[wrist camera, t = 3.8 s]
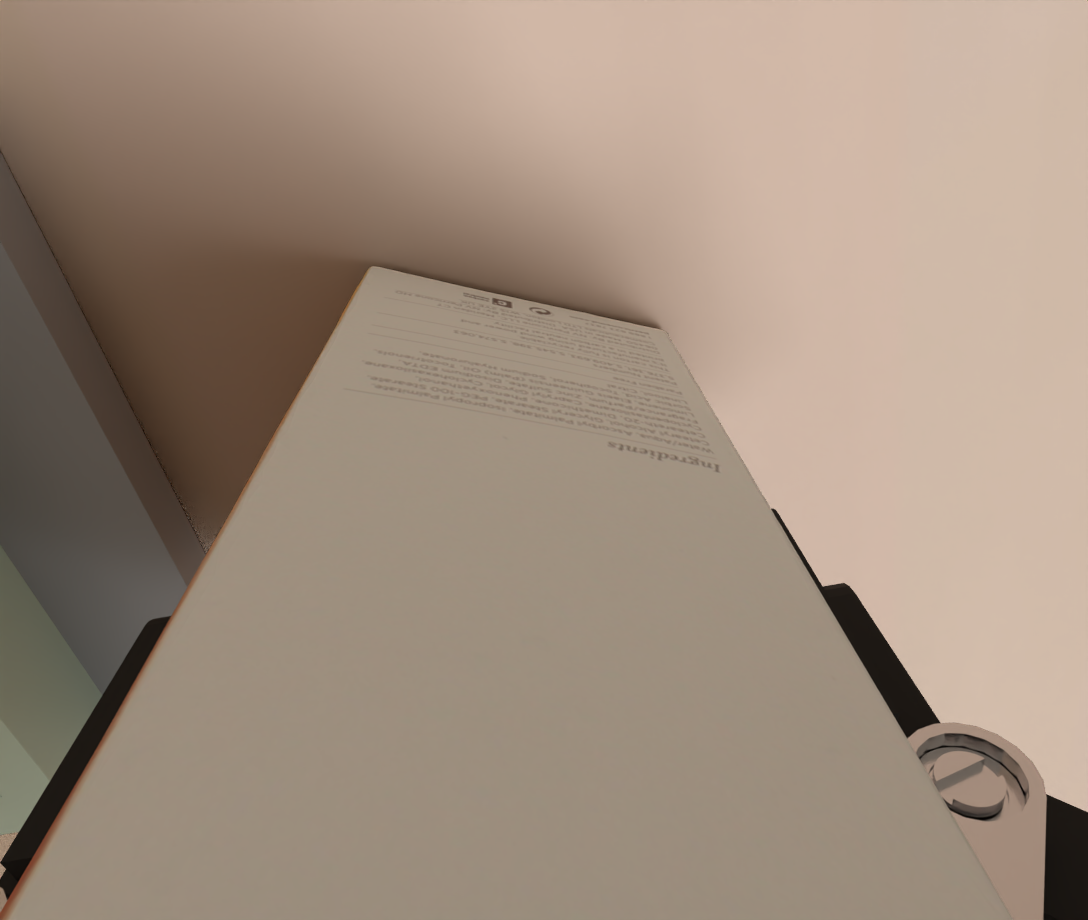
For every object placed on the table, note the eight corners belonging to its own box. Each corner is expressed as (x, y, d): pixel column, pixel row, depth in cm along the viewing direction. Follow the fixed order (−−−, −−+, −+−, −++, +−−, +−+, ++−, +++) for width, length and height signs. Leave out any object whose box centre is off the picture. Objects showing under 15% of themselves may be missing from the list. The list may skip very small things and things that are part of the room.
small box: (365, 257, 14) (-150, 1083, 3) (672, 326, 15) (1189, 1125, 4) (324, 581, 18) (33, 1492, 7) (573, 617, 19) (689, 1459, 8)
